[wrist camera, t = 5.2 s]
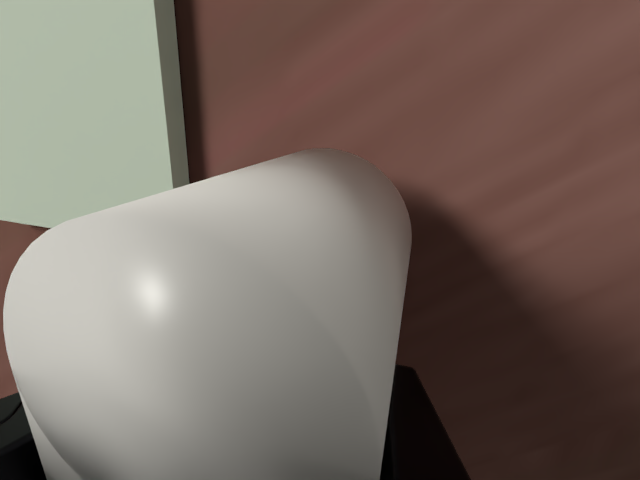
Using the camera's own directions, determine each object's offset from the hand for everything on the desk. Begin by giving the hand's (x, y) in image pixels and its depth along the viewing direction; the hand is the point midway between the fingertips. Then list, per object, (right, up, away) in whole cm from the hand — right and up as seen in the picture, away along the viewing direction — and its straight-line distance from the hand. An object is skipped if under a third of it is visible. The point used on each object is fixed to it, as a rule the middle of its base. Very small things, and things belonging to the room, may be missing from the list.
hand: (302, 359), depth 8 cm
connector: (0, -1, +2) cm, 2 cm away
